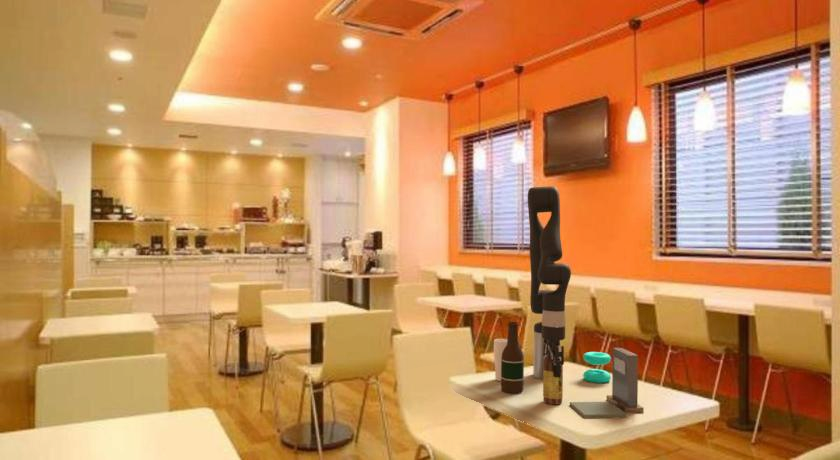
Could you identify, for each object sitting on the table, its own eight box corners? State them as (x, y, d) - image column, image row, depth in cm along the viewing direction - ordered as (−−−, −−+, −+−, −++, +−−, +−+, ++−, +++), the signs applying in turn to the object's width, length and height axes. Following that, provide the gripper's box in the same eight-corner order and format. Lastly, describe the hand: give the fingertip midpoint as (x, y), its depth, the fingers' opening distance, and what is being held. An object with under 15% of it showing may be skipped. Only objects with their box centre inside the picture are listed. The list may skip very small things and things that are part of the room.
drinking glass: (512, 382, 217) (513, 342, 217) (494, 382, 217) (494, 341, 217) (510, 378, 224) (510, 338, 224) (492, 377, 224) (492, 338, 224)
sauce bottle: (562, 405, 188) (563, 343, 188) (542, 404, 190) (543, 342, 190) (562, 400, 195) (562, 340, 195) (542, 398, 196) (543, 339, 196)
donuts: (609, 352, 226) (612, 357, 216) (609, 378, 226) (611, 384, 216) (582, 350, 228) (583, 355, 219) (582, 376, 228) (583, 382, 219)
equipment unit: (606, 399, 196) (607, 347, 196) (623, 399, 196) (624, 347, 196) (624, 412, 182) (625, 356, 182) (643, 412, 182) (644, 356, 182)
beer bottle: (509, 386, 211) (510, 319, 211) (528, 391, 205) (528, 322, 205) (496, 390, 205) (497, 322, 205) (514, 395, 200) (515, 324, 200)
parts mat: (569, 405, 189) (569, 402, 189) (608, 404, 190) (608, 401, 190) (584, 417, 176) (584, 414, 176) (626, 417, 177) (626, 414, 177)
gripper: (536, 321, 199) (535, 369, 199) (548, 327, 185) (548, 379, 185) (557, 321, 200) (557, 368, 200) (572, 327, 185) (571, 379, 185)
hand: (552, 373), depth 192 cm, fingers open, 8 cm apart
